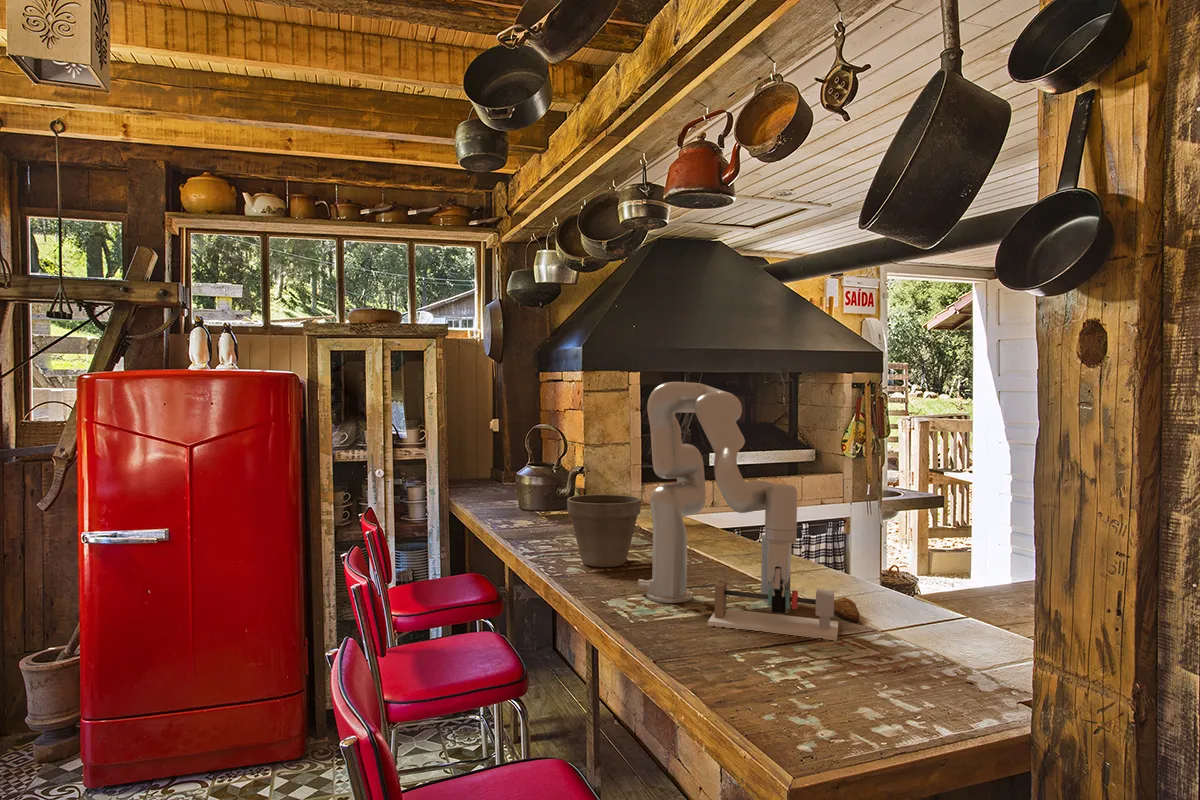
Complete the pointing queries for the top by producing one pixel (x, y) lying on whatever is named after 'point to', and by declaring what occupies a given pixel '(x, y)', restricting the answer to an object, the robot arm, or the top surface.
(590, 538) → the plant pot
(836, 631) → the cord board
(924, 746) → the top surface
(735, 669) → the top surface
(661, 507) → the robot arm
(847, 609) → the croissant
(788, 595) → the sleeve
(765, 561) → the hip flask
